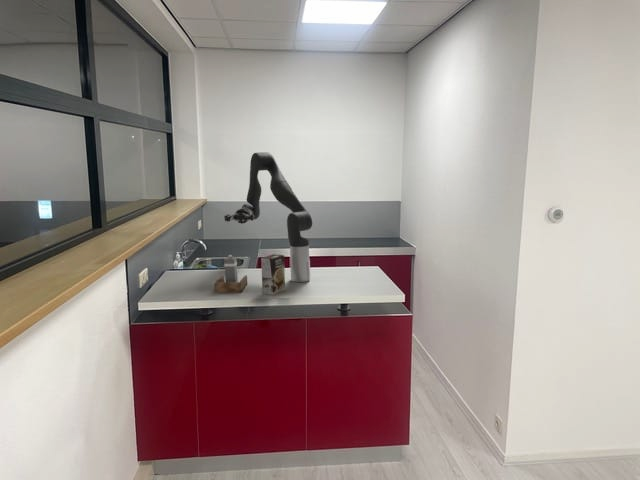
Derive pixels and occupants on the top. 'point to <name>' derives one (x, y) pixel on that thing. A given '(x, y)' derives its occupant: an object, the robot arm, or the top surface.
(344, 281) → the top surface
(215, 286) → the caddy
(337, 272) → the top surface
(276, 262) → the coffee box
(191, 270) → the top surface
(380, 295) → the top surface
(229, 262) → the connector plug
